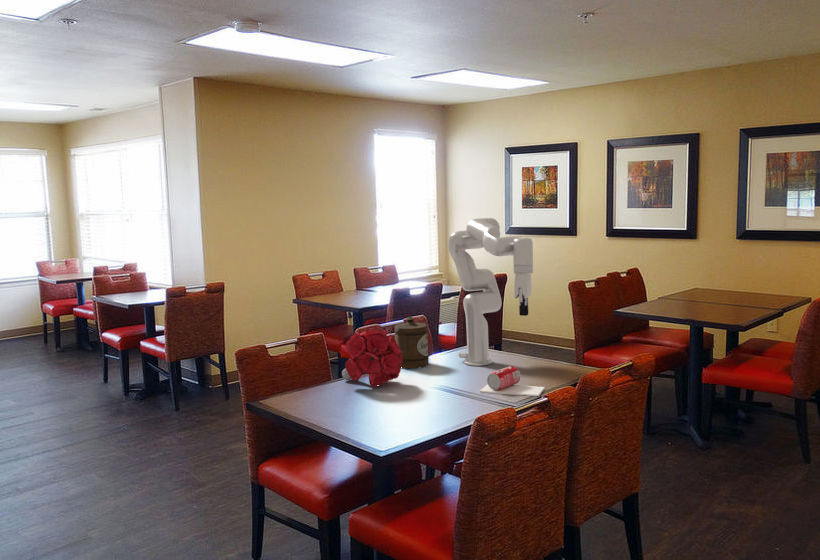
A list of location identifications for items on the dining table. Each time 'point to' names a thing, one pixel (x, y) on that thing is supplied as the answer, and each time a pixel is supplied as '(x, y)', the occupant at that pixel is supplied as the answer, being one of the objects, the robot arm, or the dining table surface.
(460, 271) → the robot arm
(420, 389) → the dining table surface
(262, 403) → the dining table surface
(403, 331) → the wooden container
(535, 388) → the mat
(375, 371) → the bouquet
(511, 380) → the soda can
